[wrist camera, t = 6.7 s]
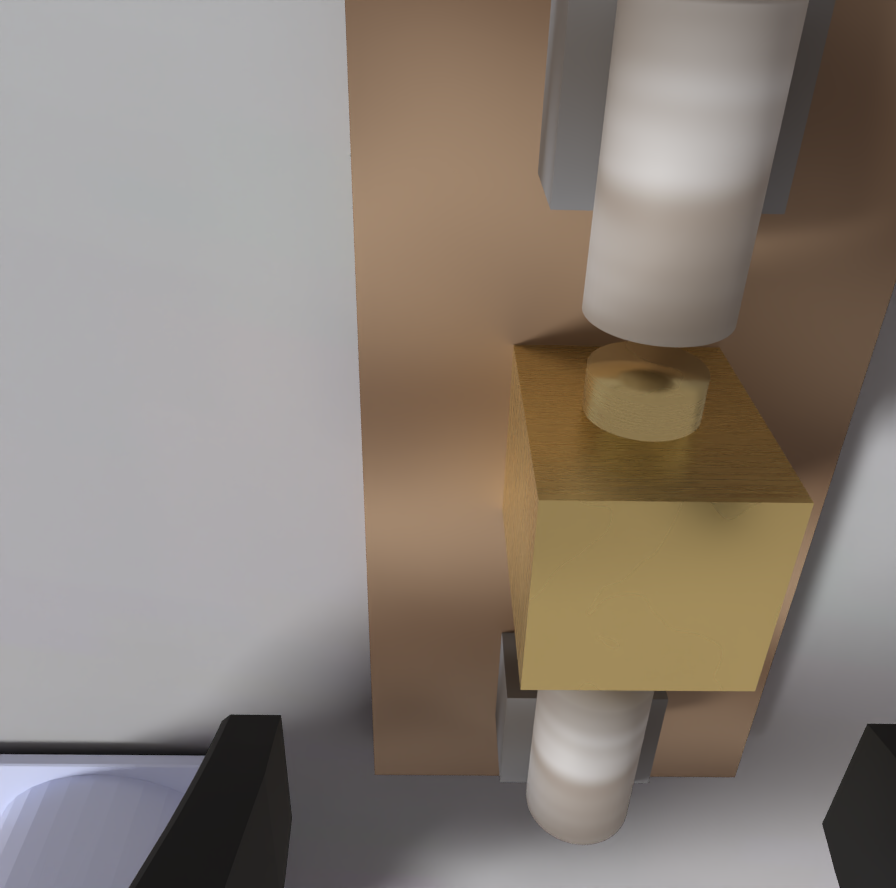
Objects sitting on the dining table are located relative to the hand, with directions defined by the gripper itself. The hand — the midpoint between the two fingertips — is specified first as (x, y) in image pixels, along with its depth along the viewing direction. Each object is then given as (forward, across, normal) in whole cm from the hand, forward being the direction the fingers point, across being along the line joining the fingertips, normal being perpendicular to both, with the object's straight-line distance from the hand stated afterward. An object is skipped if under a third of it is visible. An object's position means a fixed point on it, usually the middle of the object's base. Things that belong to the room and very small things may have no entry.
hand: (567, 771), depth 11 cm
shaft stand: (+9, -2, 0) cm, 9 cm away
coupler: (+8, -2, 0) cm, 8 cm away
